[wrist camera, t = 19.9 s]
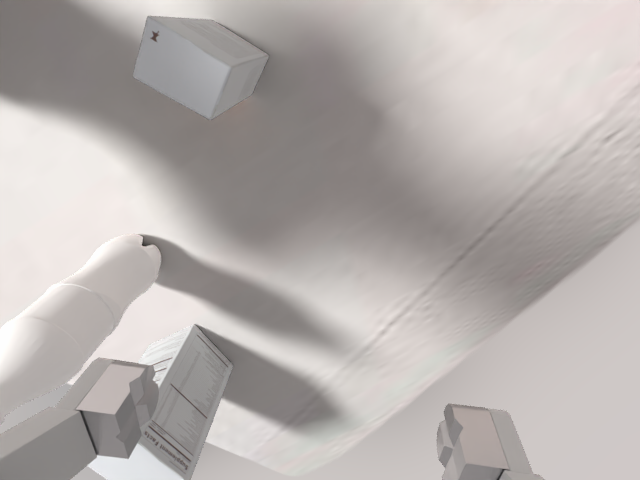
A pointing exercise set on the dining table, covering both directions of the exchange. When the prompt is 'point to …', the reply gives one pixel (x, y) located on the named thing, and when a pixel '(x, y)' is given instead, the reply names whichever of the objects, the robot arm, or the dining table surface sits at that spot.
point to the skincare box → (198, 63)
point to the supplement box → (175, 409)
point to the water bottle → (72, 320)
